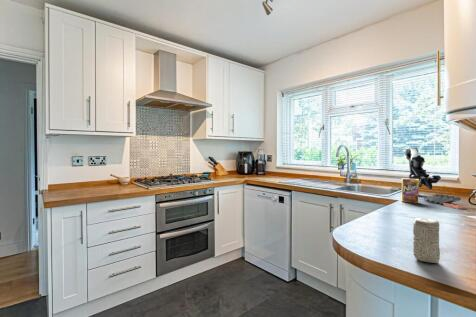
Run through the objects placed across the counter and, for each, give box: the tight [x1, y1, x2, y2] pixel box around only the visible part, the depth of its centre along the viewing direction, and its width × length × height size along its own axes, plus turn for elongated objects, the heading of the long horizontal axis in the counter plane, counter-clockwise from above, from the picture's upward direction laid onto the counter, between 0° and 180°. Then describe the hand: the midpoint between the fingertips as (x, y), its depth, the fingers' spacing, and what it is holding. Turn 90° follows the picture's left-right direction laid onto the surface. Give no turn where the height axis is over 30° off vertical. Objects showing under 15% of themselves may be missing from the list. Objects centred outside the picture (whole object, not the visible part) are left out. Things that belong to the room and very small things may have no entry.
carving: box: [412, 217, 441, 264], centre depth 72 cm, size 6×8×12 cm
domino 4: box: [438, 196, 462, 205], centre depth 150 cm, size 2×5×10 cm
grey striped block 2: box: [428, 194, 449, 203], centre depth 158 cm, size 2×5×10 cm
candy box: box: [400, 178, 420, 204], centre depth 161 cm, size 9×4×15 cm, turn 60°
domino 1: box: [424, 193, 444, 202], centre depth 162 cm, size 2×5×10 cm
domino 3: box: [433, 195, 455, 204], centre depth 154 cm, size 2×5×10 cm
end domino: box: [442, 202, 467, 210], centre depth 147 cm, size 2×5×10 cm
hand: (431, 189), depth 164 cm, fingers closed
